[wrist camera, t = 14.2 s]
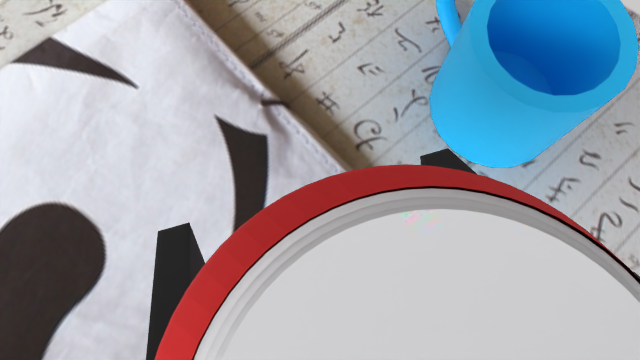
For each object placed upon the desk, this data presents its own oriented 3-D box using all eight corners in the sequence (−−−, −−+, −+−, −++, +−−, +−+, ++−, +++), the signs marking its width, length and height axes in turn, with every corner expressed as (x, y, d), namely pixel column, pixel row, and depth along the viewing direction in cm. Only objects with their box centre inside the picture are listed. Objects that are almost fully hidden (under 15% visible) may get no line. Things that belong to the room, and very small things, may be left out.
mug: (583, 131, 32) (674, 66, 24) (475, 190, 31) (533, 142, 23) (478, -14, 35) (528, -114, 27) (375, 35, 34) (396, -55, 26)
